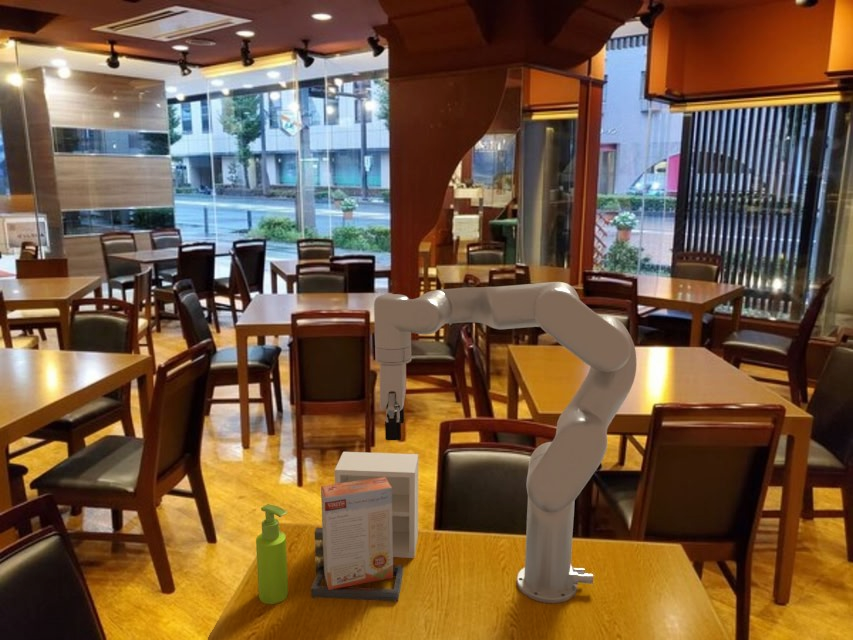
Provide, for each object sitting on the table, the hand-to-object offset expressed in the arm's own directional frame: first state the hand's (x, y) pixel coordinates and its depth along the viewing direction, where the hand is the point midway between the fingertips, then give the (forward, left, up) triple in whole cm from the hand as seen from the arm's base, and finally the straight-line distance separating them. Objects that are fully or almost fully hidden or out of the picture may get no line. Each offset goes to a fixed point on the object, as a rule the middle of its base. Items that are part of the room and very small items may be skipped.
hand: (395, 431), depth 137 cm
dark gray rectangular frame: (+7, +8, -32) cm, 34 cm away
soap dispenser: (+24, +13, -32) cm, 42 cm away
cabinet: (+5, -8, -32) cm, 33 cm away
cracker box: (+7, +8, -30) cm, 32 cm away
